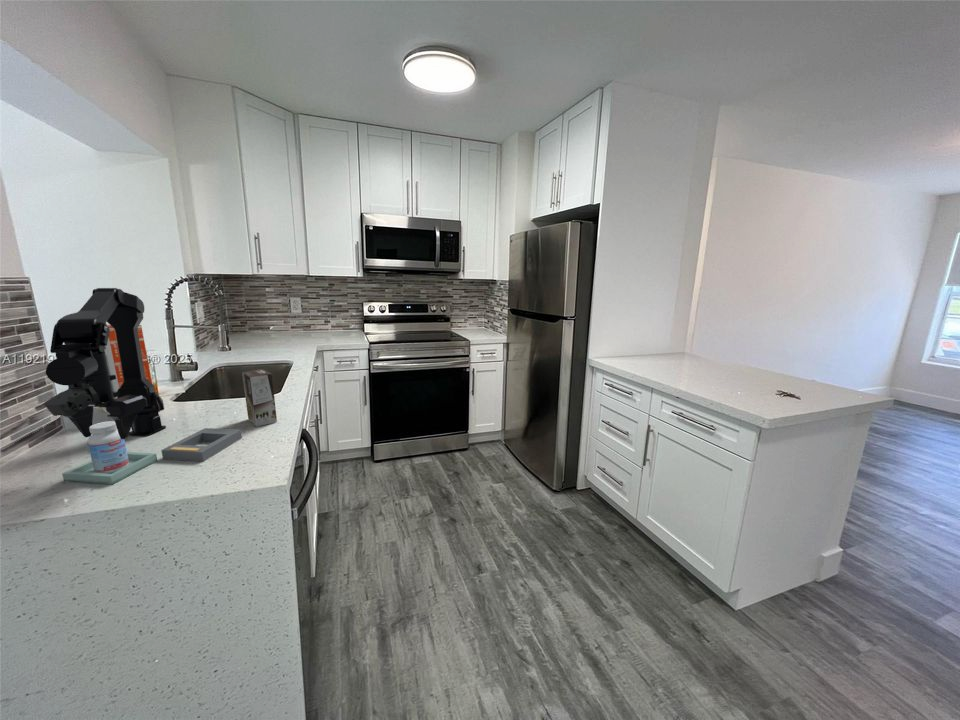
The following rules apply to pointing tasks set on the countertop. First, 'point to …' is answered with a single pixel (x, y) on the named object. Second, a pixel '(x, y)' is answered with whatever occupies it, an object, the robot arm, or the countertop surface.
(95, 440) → the pill bottle
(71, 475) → the tray
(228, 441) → the socket block
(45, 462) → the countertop surface
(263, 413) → the coffee box
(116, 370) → the orange cereal box
